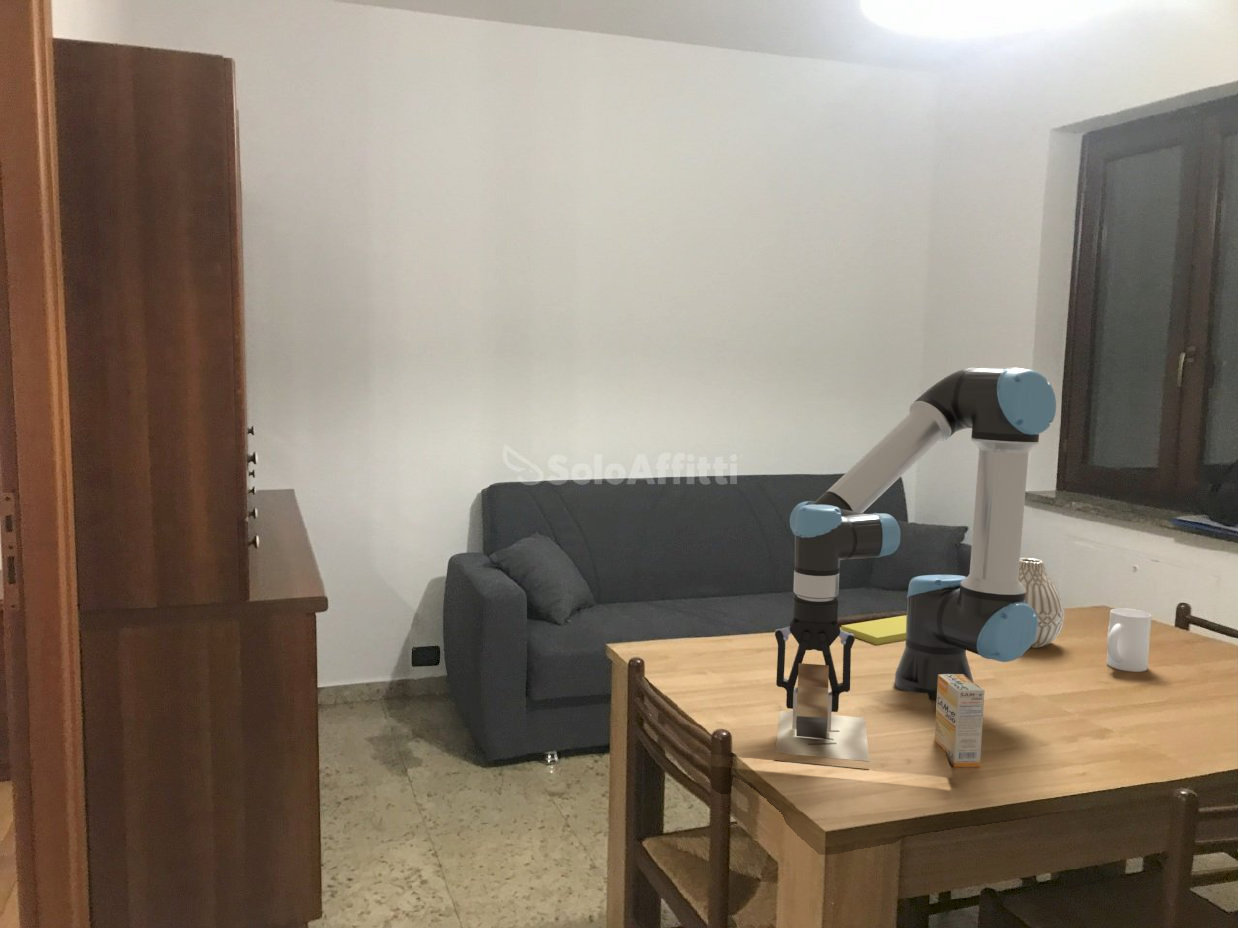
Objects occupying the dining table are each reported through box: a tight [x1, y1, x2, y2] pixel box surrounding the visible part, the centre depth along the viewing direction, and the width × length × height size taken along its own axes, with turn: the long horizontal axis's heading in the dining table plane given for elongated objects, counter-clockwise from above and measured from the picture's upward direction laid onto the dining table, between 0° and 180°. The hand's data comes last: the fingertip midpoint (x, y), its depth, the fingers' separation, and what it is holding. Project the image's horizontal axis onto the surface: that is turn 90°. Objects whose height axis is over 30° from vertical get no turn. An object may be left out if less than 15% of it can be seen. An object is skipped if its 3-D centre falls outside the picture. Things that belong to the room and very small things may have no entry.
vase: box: [1018, 557, 1065, 649], centre depth 231 cm, size 16×16×20 cm
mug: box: [1106, 607, 1152, 673], centre depth 213 cm, size 8×12×12 cm
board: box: [774, 710, 870, 771], centre depth 168 cm, size 15×20×2 cm
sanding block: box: [796, 662, 829, 739], centre depth 166 cm, size 5×8×10 cm
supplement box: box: [934, 674, 985, 768], centre depth 162 cm, size 8×5×13 cm, turn 5°
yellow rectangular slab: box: [840, 614, 907, 646], centre depth 239 cm, size 12×2×24 cm
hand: (811, 727), depth 169 cm, fingers closed on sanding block, 5 cm apart
